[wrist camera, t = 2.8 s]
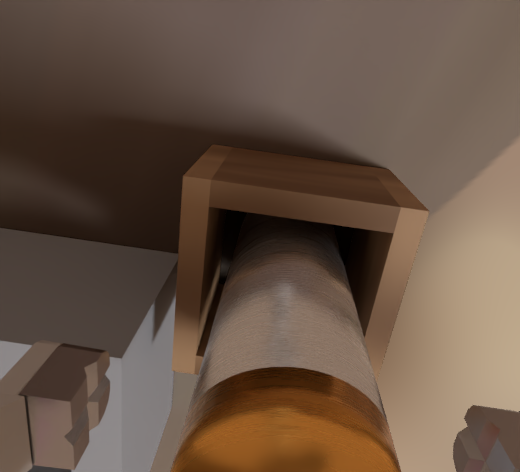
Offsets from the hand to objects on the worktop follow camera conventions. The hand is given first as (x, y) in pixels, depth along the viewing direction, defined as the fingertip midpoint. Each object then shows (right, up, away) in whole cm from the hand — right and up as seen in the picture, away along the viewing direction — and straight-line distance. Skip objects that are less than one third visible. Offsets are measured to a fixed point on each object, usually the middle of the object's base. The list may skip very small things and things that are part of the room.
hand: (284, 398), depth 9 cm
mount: (+1, +4, +8) cm, 9 cm away
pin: (+1, +4, +8) cm, 9 cm away
